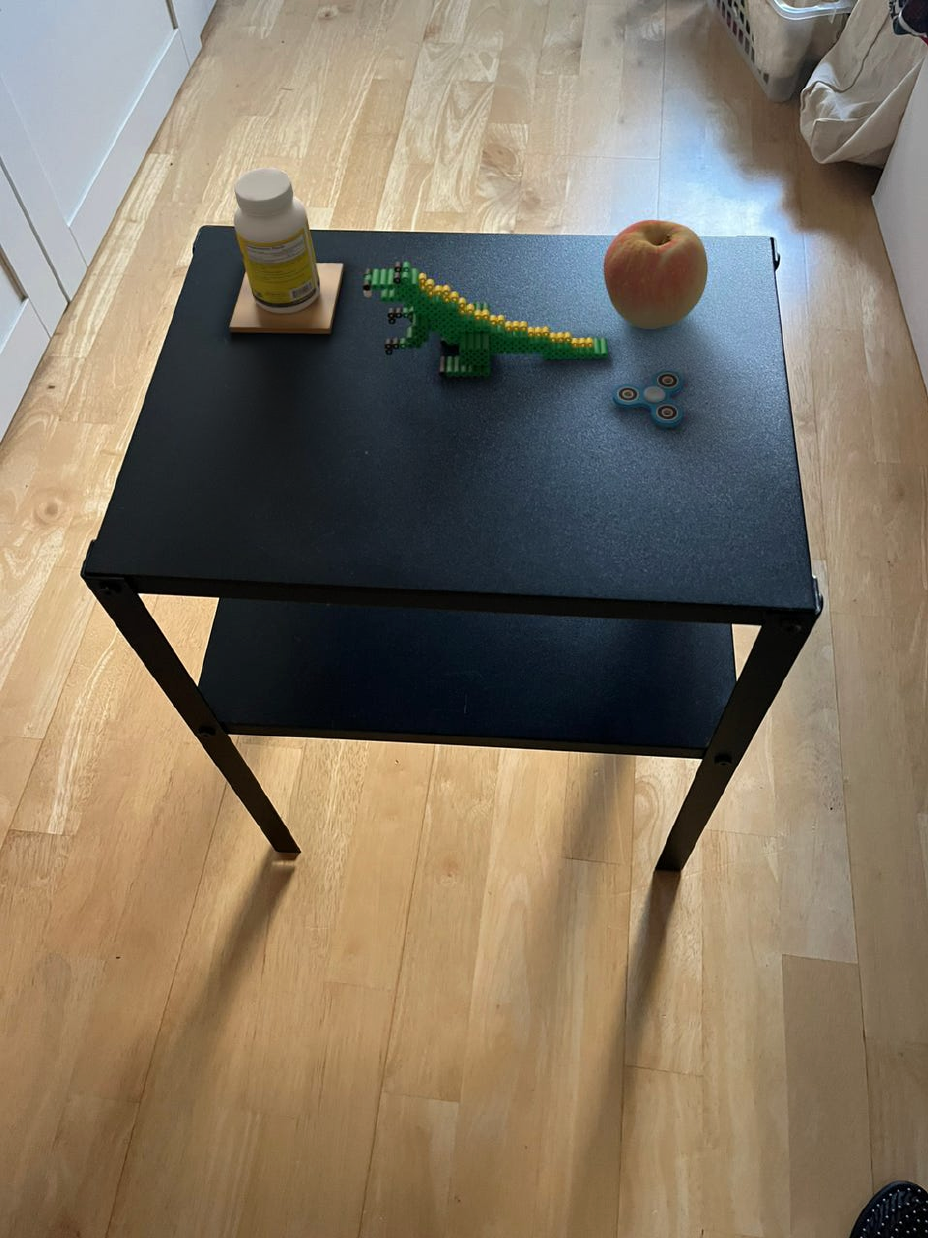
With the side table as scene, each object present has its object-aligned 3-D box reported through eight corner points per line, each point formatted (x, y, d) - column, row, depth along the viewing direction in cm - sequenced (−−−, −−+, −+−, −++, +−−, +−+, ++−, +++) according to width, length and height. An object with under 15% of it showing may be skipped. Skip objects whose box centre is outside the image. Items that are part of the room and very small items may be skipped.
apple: (609, 350, 89) (617, 272, 82) (592, 284, 94) (598, 205, 87) (710, 340, 89) (726, 261, 82) (688, 274, 94) (701, 195, 87)
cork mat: (330, 333, 92) (329, 328, 91) (230, 332, 92) (229, 326, 92) (344, 268, 97) (343, 263, 96) (249, 267, 97) (248, 262, 97)
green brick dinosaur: (605, 328, 90) (613, 241, 83) (609, 374, 87) (617, 288, 80) (377, 332, 92) (365, 247, 84) (372, 378, 88) (359, 293, 81)
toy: (613, 373, 87) (614, 364, 86) (681, 377, 87) (683, 368, 86) (610, 426, 84) (611, 417, 83) (681, 430, 83) (682, 421, 82)
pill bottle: (268, 267, 96) (242, 157, 87) (330, 276, 95) (311, 165, 86) (242, 311, 93) (212, 200, 84) (307, 321, 92) (283, 210, 83)
